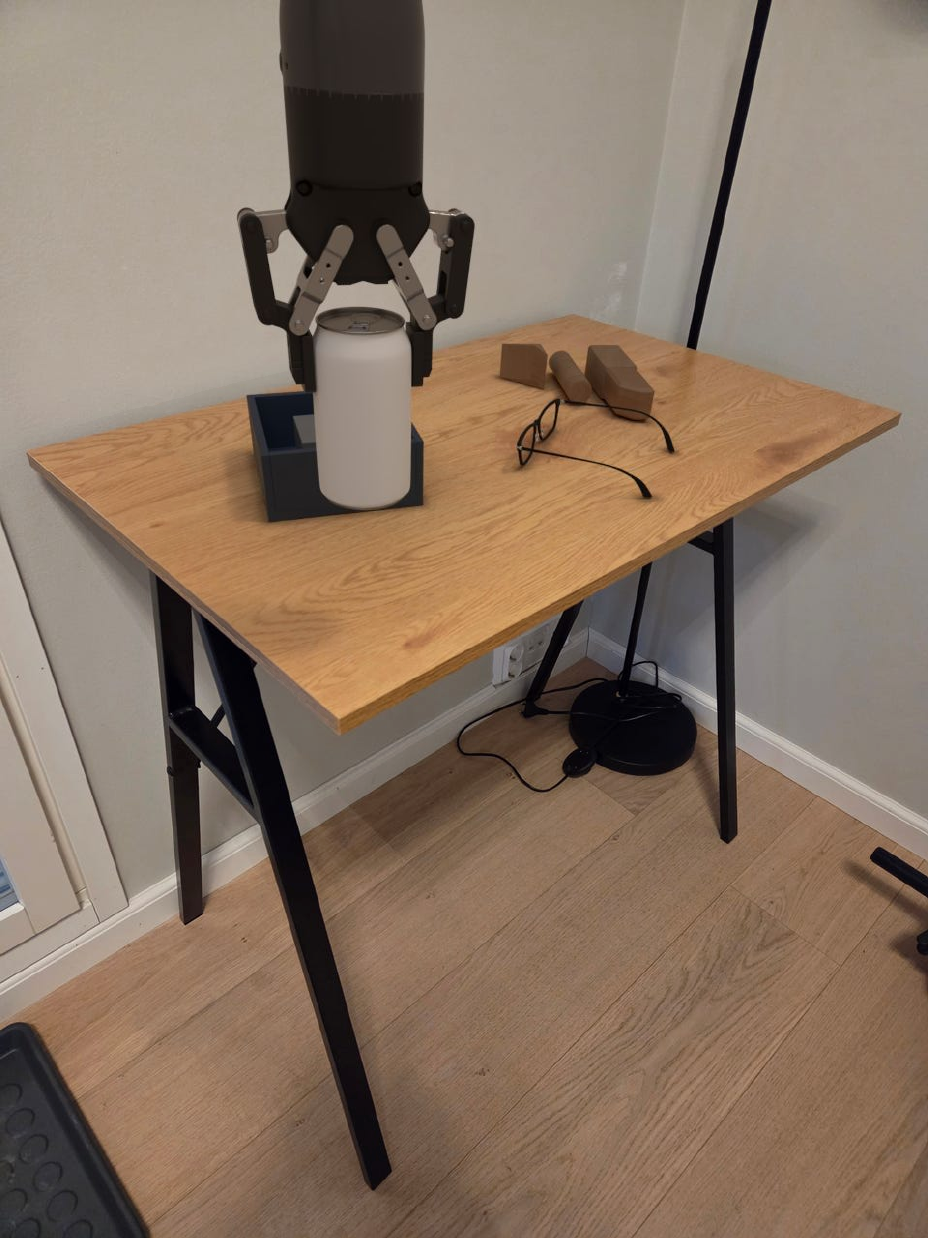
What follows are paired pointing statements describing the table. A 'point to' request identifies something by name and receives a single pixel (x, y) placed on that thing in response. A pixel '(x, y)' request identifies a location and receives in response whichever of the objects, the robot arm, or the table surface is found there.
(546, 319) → the table surface
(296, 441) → the grey block
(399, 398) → the can
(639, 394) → the wooden block set
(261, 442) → the crate
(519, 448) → the eyeglasses
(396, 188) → the robot arm
